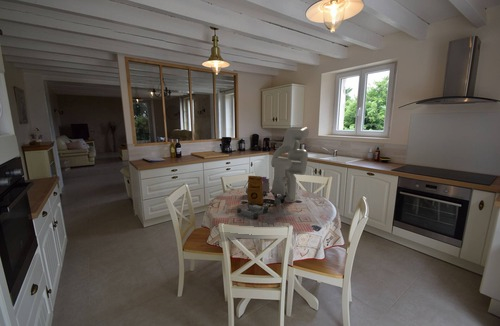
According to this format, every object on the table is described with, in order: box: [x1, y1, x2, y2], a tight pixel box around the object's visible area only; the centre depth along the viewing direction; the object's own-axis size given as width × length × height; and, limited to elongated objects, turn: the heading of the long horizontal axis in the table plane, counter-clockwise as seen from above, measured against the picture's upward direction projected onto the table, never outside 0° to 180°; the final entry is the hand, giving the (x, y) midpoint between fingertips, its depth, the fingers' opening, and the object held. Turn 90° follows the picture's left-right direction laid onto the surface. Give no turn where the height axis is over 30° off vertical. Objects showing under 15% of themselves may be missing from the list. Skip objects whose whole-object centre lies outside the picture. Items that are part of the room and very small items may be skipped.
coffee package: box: [247, 175, 264, 206], centre depth 173 cm, size 10×12×22 cm
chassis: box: [236, 202, 269, 220], centre depth 156 cm, size 18×15×4 cm
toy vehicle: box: [245, 176, 271, 196], centre depth 192 cm, size 9×20×15 cm, turn 107°
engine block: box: [274, 194, 282, 206], centre depth 158 cm, size 6×4×5 cm
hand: (279, 202), depth 158 cm, fingers closed on engine block, 4 cm apart
